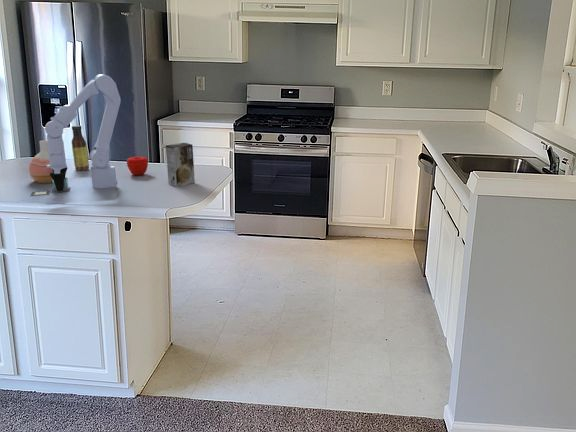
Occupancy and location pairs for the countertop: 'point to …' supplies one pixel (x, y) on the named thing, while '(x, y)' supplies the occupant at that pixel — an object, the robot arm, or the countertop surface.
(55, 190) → the housing
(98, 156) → the robot arm
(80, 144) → the sauce bottle
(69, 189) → the stand
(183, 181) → the coffee box
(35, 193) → the stand
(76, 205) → the countertop surface
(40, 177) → the vase
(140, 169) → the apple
